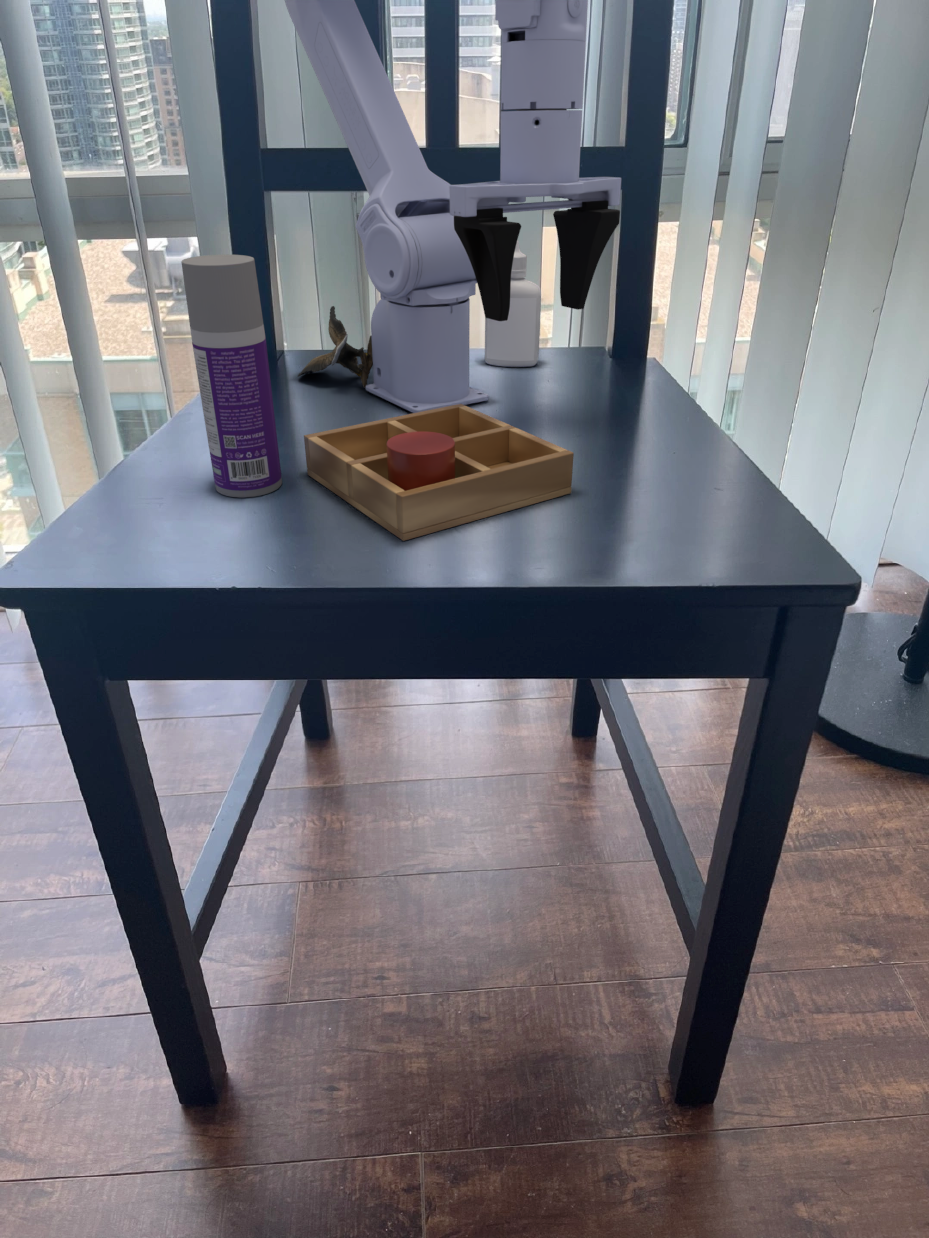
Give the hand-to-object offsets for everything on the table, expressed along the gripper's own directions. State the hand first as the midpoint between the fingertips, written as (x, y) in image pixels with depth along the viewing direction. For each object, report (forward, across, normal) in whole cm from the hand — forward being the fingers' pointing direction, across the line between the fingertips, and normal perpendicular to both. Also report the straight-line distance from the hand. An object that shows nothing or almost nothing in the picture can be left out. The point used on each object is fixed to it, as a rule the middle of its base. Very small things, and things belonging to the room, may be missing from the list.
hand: (535, 313), depth 67 cm
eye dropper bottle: (+9, +12, +18) cm, 24 cm away
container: (+10, -24, +2) cm, 26 cm away
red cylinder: (+9, -16, -9) cm, 21 cm away
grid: (+10, -13, -6) cm, 17 cm away
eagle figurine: (+9, -6, +23) cm, 25 cm away
